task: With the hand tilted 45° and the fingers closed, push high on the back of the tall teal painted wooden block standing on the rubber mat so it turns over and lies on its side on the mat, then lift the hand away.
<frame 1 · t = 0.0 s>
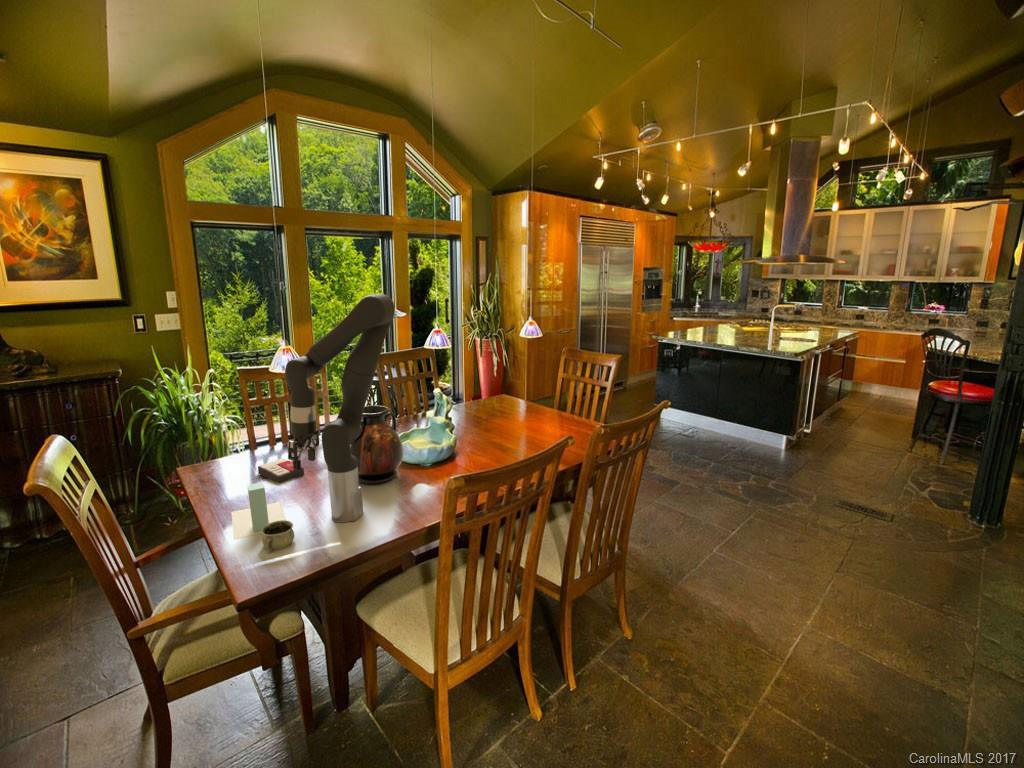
hand: (304, 465, 163), 17 cm above the table, tool pointing down, fingers open, 8 cm apart
vessel: (279, 547, 147), on the table
calculator: (281, 475, 198), on the table
amphora vase: (376, 478, 195), on the table
mat: (259, 521, 161), on the table
block: (260, 527, 155), point 1 cm above the table, touching mat
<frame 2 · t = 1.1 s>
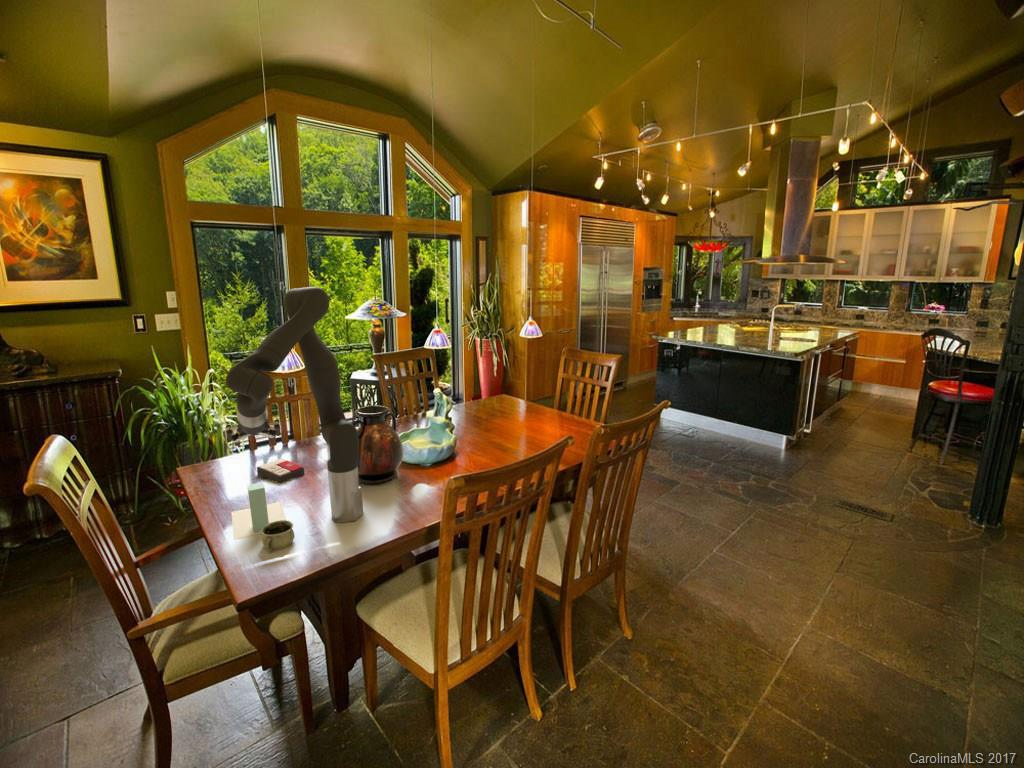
hand: (254, 442, 149), 29 cm above the table, tool tilted 45°, fingers open, 8 cm apart
nothing on the table moved.
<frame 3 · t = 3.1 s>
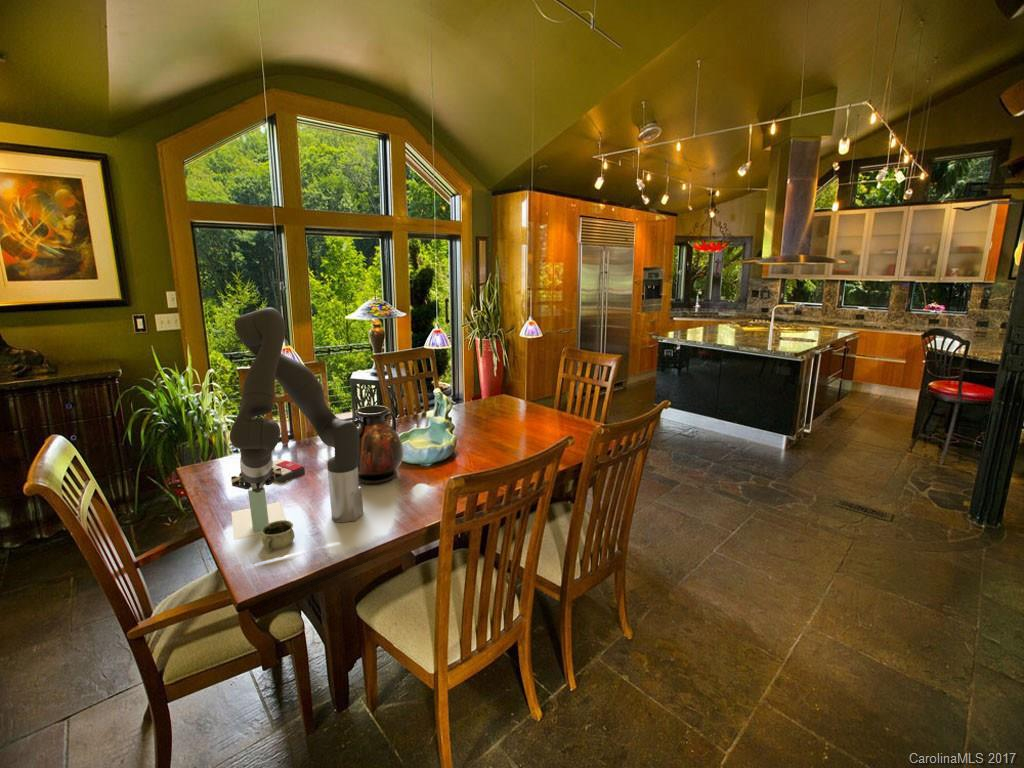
hand: (257, 489, 143), 18 cm above the table, tool tilted 45°, fingers closed
nothing on the table moved.
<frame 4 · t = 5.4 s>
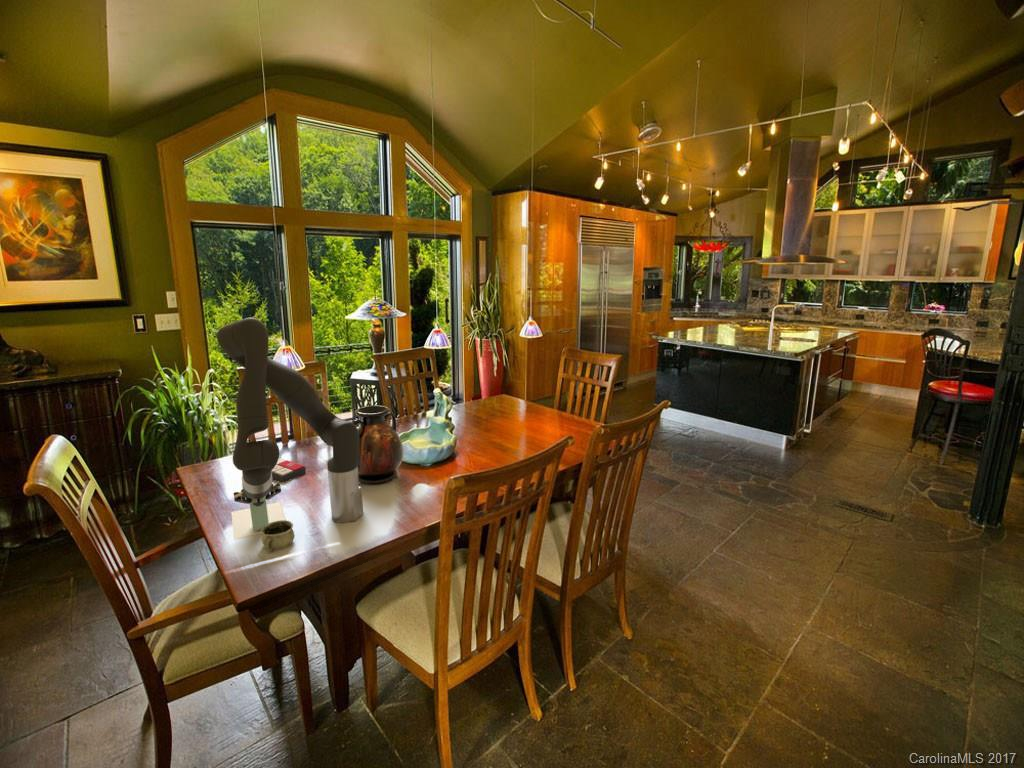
hand: (258, 503, 152), 10 cm above the table, tool tilted 45°, fingers closed
block: (260, 527, 155), point 1 cm above the table, tilted 8°, touching mat
everything else where it was.
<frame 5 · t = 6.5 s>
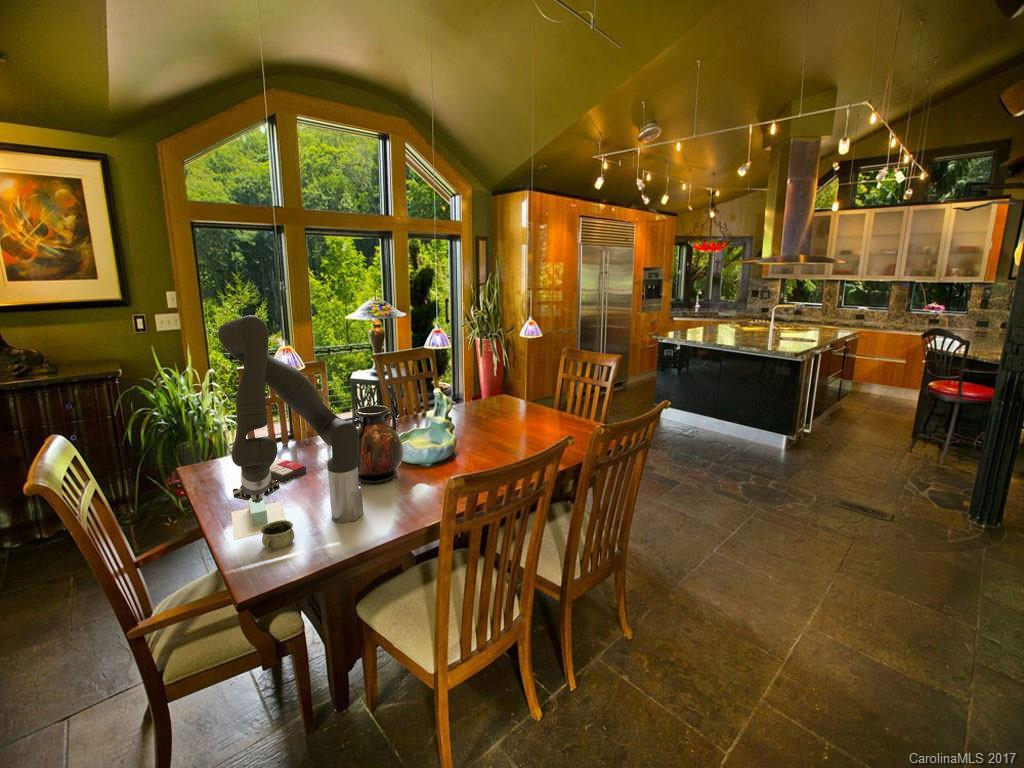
hand: (257, 499, 154), 10 cm above the table, tool tilted 45°, fingers closed
block: (259, 518, 157), point 3 cm above the table, tilted 90°, touching mat
everything else where it was.
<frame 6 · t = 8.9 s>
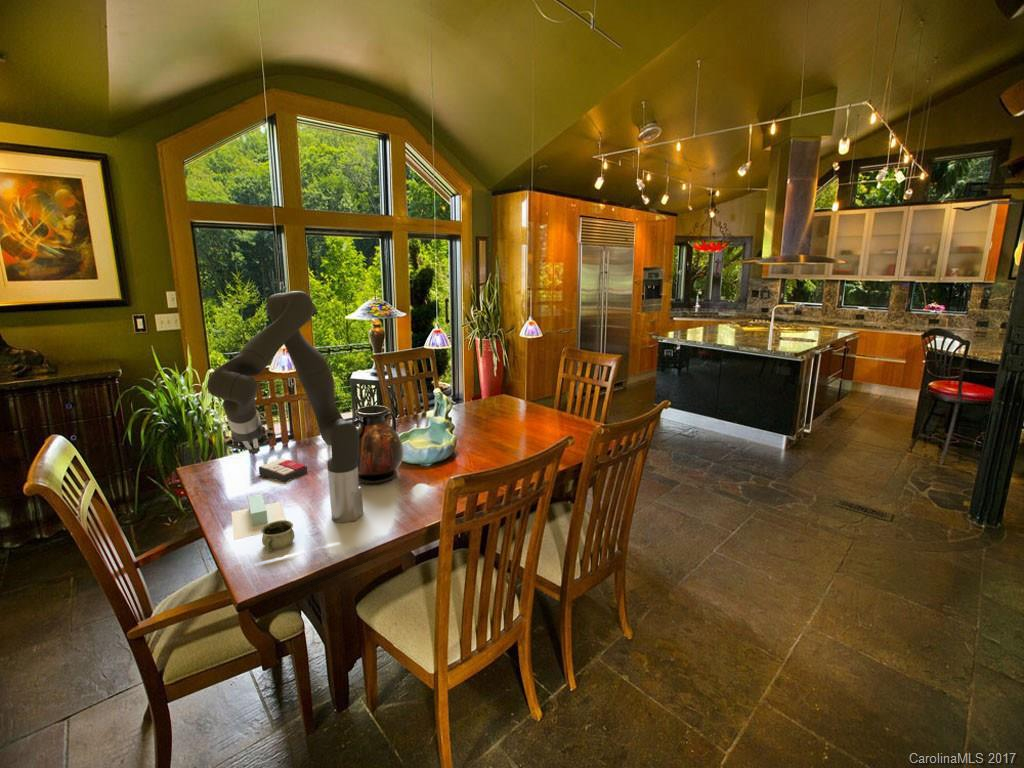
hand: (254, 451, 146), 28 cm above the table, tool tilted 45°, fingers closed
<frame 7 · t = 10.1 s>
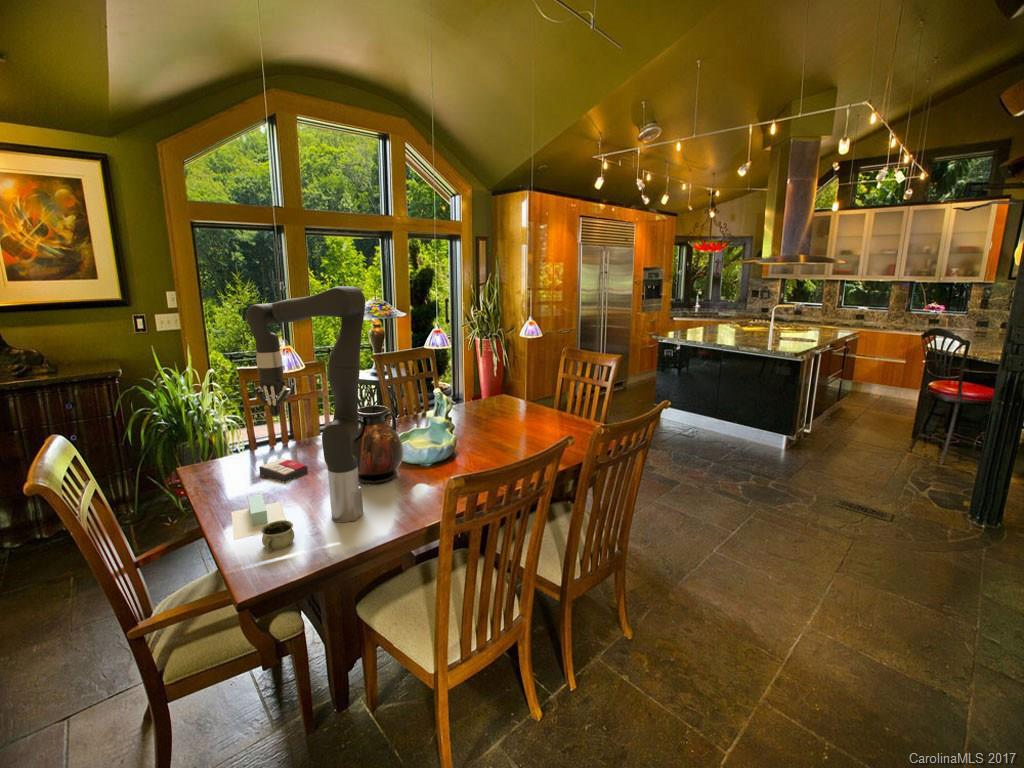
hand: (275, 415, 167), 32 cm above the table, tool pointing down, fingers closed
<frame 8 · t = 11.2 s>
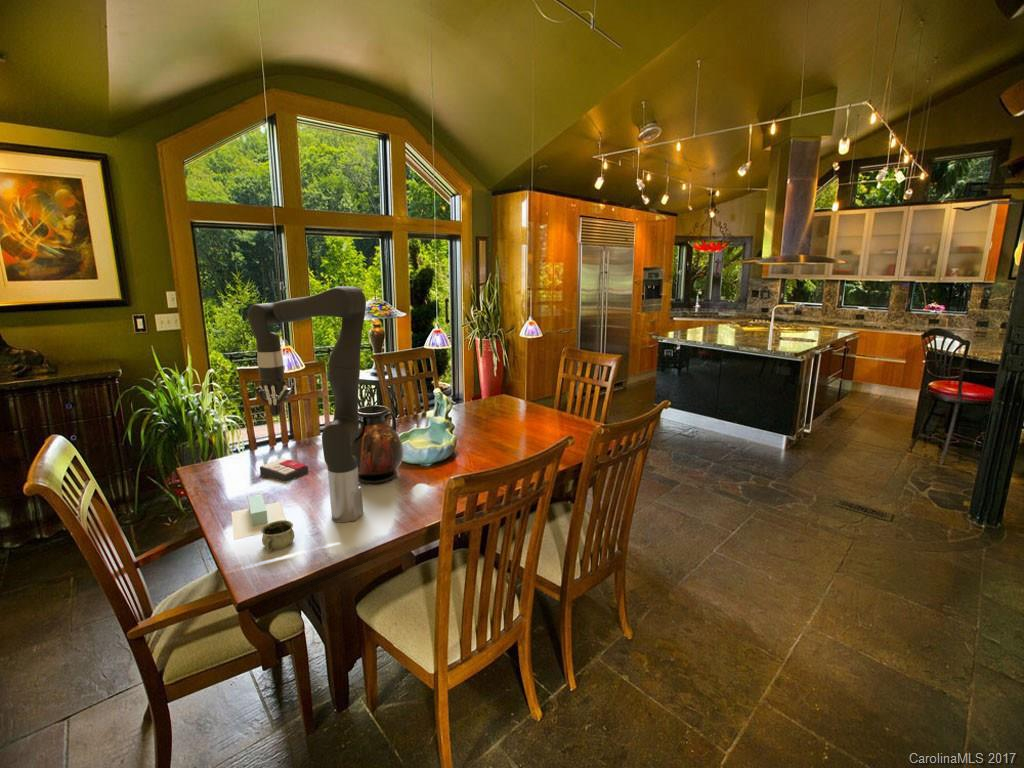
hand: (276, 414, 167), 32 cm above the table, tool pointing down, fingers closed
at the end: block tilted 90°; block inside the target area on the mat (1.8 cm from its centre), point 3.0 cm above the mat's base; block touching mat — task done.
